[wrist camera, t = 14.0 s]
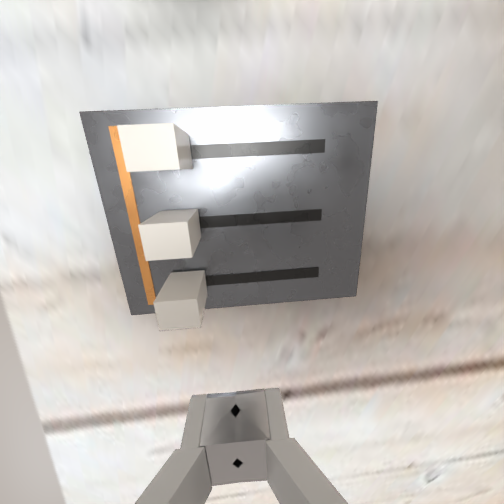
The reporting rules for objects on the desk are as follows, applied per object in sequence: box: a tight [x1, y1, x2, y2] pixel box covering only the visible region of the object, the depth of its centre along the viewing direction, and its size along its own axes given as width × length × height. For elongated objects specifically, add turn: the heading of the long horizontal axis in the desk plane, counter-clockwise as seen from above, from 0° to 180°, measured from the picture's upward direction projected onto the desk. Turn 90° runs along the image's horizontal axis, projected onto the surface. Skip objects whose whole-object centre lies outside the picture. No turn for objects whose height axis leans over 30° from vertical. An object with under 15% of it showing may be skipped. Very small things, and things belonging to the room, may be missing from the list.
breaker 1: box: [117, 123, 193, 172], centre depth 16 cm, size 3×2×5 cm
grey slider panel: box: [80, 101, 378, 315], centre depth 21 cm, size 22×17×2 cm
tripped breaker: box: [153, 270, 207, 331], centre depth 19 cm, size 3×2×5 cm
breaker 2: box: [138, 209, 201, 261], centre depth 18 cm, size 3×2×5 cm
